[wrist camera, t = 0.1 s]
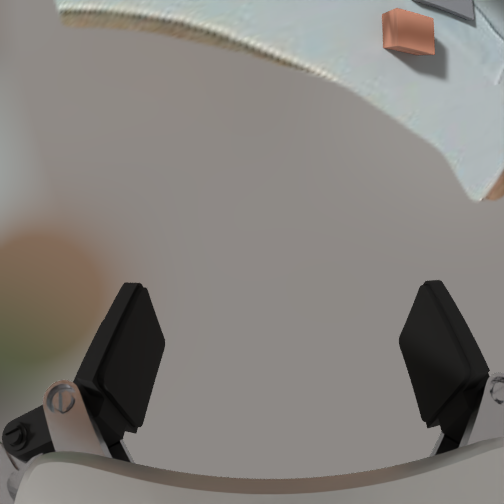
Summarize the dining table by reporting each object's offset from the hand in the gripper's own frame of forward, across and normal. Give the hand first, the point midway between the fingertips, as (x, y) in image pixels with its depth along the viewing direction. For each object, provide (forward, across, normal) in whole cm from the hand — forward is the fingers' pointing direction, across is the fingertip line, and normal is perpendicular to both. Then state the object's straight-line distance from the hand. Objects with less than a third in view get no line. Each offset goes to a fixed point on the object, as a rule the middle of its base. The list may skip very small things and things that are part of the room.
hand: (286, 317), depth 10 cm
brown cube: (+31, -17, -15) cm, 39 cm away
